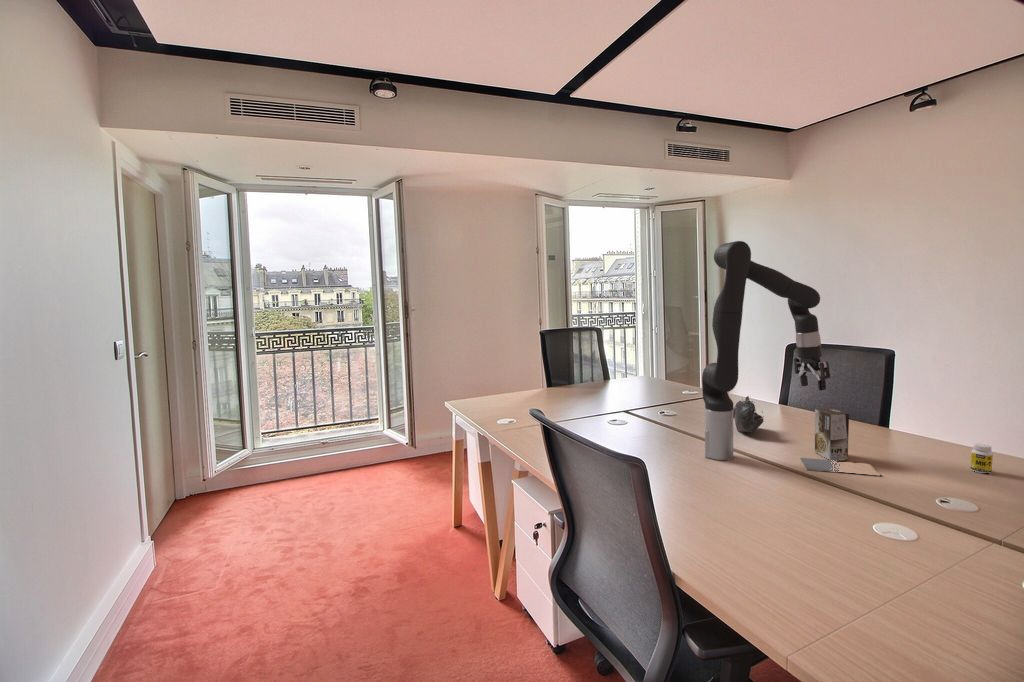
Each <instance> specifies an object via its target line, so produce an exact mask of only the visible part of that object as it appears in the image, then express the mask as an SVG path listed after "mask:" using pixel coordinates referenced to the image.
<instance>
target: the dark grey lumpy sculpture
mask: <svg viewBox="0 0 1024 682" xmlns="http://www.w3.org/2000/svg"><path fill="white" fill-rule="evenodd" d="M741 399H742V400H739V401H737V402H736V403H735V405H734V406H733V421H734V424H735V429H736V430H737V432H740V433H755V432H756V431H757V429H759V427H760V426H762V425H763V423H764V417H765V416H764V415H761V414H758V412H757V411H756V406H755V403H754V401H753V400H752V401H751V400H750V396H749V395H747V396H746V397H745V399H743V398H741ZM761 413H762V414H763V413H764V412H763V410H762V411H761Z"/></svg>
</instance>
